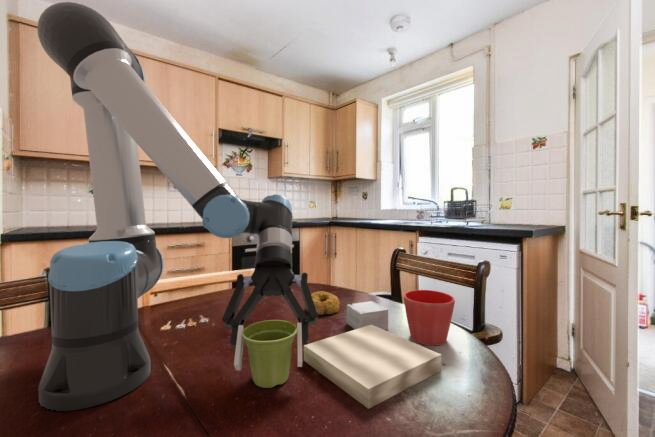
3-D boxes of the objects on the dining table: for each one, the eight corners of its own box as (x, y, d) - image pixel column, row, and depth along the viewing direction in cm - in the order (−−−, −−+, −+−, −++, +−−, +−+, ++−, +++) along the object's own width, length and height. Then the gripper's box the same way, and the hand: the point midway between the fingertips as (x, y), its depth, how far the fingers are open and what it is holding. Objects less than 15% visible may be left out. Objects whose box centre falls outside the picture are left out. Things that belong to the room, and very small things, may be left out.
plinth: (368, 408, 46) (368, 388, 46) (303, 360, 60) (303, 345, 60) (441, 370, 56) (441, 354, 56) (371, 337, 71) (371, 324, 71)
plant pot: (287, 398, 49) (287, 343, 48) (232, 391, 50) (231, 338, 50) (304, 367, 58) (303, 321, 57) (256, 362, 60) (256, 318, 59)
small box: (389, 330, 76) (389, 309, 76) (360, 335, 73) (360, 313, 72) (372, 319, 83) (372, 300, 83) (345, 323, 80) (345, 304, 80)
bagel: (297, 312, 88) (297, 296, 88) (318, 303, 98) (318, 287, 97) (327, 319, 83) (327, 302, 83) (346, 308, 92) (346, 292, 92)
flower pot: (449, 353, 63) (449, 306, 63) (396, 341, 69) (397, 298, 68) (458, 335, 72) (458, 293, 72) (411, 325, 78) (411, 287, 77)
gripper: (324, 263, 70) (334, 369, 55) (223, 265, 68) (203, 377, 52) (327, 242, 64) (338, 353, 49) (217, 244, 62) (193, 361, 47)
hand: (269, 365), depth 51 cm, fingers closed on plant pot, 9 cm apart
